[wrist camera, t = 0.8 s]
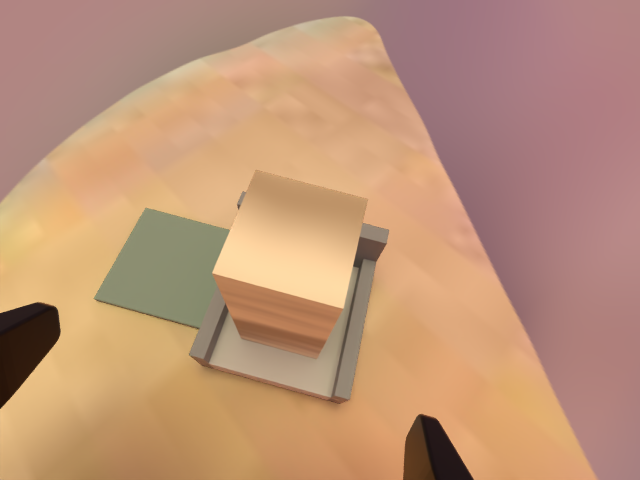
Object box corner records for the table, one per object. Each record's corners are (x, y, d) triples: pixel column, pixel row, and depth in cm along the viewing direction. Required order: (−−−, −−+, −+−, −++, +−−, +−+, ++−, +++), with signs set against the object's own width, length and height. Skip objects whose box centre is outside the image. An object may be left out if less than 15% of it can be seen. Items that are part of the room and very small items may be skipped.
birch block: (316, 359, 21) (343, 308, 12) (241, 338, 21) (211, 273, 12) (334, 287, 23) (367, 199, 14) (265, 269, 23) (255, 169, 14)
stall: (339, 403, 22) (358, 396, 16) (201, 365, 22) (176, 345, 17) (366, 270, 26) (389, 230, 20) (250, 239, 26) (242, 191, 21)
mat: (202, 329, 23) (200, 328, 22) (96, 300, 23) (93, 298, 23) (240, 235, 26) (239, 232, 26) (147, 210, 26) (145, 207, 26)
